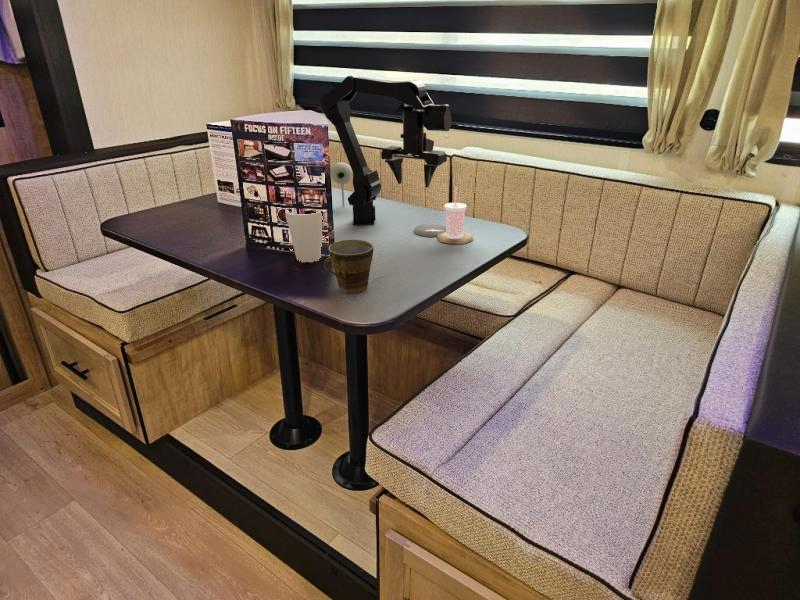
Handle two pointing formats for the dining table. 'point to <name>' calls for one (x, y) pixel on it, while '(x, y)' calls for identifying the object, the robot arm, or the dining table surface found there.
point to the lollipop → (341, 175)
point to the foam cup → (306, 235)
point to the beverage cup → (454, 218)
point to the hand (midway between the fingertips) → (413, 185)
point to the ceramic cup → (351, 264)
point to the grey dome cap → (429, 230)
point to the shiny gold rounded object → (463, 240)
